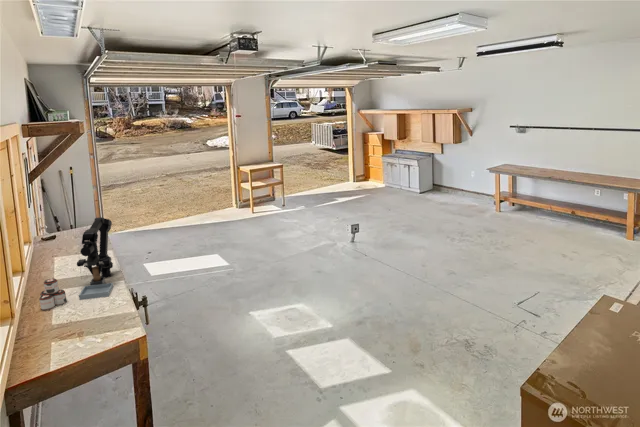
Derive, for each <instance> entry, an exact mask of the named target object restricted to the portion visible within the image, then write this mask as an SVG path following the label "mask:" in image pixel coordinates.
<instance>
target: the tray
mask: <svg viewBox="0 0 640 427" xmlns="http://www.w3.org/2000/svg"><path fill="white" fill-rule="evenodd" d="M113 288H114V283H113V282H109V283H104V284H98V285H84V286H83V288H82V289H81V291H80V293H79V294H78V298H79V299H78V300H79V301H82V300H91V299H99V298H106V297H110V294H111V292H112V291H113Z"/></svg>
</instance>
